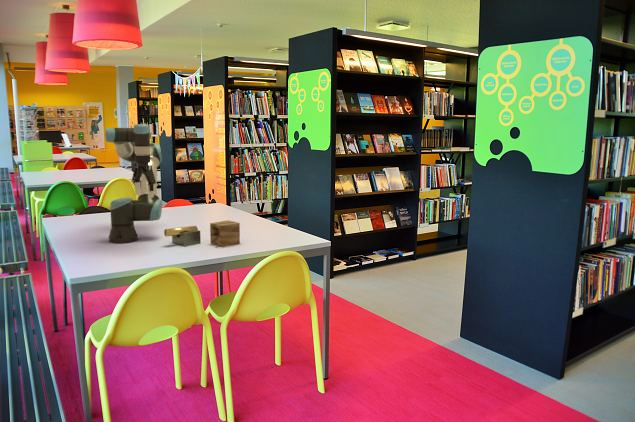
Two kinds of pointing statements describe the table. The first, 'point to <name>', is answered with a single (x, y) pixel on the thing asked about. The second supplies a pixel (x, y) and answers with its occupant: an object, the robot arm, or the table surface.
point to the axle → (179, 230)
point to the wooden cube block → (225, 233)
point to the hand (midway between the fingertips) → (144, 196)
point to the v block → (187, 238)
